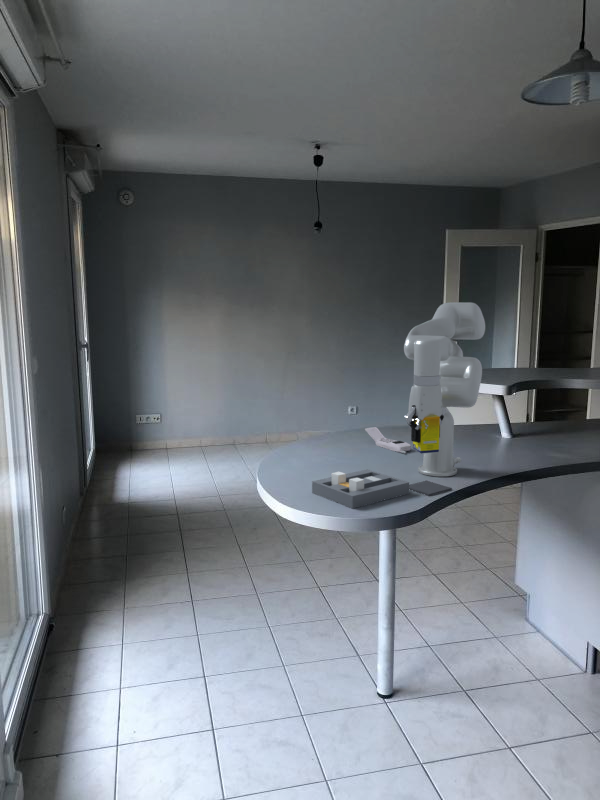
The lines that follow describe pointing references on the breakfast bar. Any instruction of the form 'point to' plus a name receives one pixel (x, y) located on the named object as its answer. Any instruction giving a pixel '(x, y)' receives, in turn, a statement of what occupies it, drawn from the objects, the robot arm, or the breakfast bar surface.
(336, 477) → the switch
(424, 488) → the mat
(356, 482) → the switch
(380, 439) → the mobile phone
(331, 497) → the grey compartment tray
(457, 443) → the breakfast bar surface
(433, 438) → the supplement box
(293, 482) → the breakfast bar surface
